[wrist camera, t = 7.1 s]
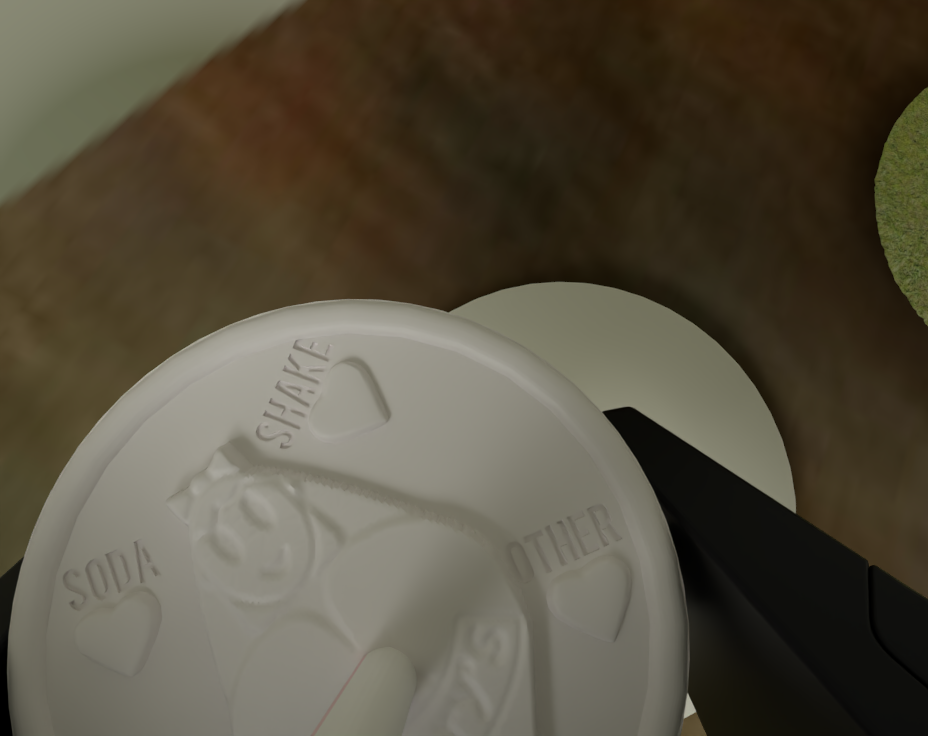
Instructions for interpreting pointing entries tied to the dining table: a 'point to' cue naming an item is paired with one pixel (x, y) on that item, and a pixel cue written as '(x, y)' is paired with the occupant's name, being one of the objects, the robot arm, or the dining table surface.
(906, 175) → the green disc
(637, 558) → the smoothie
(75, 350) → the dining table surface
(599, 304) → the plate
